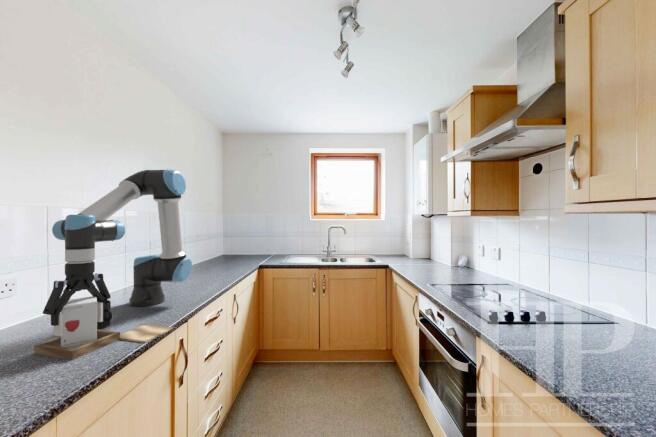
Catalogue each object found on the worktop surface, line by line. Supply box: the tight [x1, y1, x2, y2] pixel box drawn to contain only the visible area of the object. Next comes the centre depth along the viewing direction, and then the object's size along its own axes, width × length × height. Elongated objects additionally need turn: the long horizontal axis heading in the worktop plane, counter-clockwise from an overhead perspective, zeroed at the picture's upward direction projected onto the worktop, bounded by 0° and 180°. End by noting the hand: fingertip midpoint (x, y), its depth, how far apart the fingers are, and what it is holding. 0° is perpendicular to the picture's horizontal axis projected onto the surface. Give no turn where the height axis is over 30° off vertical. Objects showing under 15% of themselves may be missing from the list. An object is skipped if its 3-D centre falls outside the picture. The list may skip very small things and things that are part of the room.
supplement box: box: [60, 296, 98, 349], centre depth 98 cm, size 9×9×15 cm
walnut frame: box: [33, 329, 121, 361], centre depth 98 cm, size 15×15×2 cm
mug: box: [97, 299, 113, 330], centre depth 115 cm, size 9×12×9 cm
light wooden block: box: [118, 323, 175, 344], centre depth 109 cm, size 13×13×1 cm
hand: (79, 327), depth 98 cm, fingers closed on supplement box, 12 cm apart
